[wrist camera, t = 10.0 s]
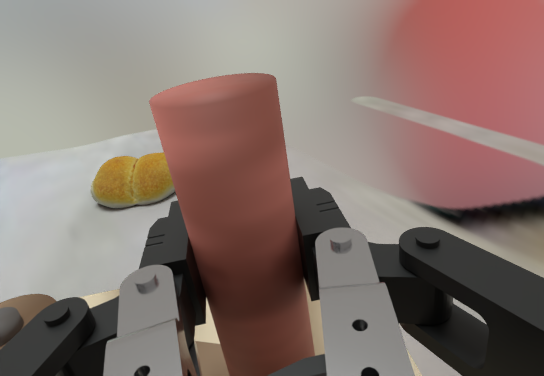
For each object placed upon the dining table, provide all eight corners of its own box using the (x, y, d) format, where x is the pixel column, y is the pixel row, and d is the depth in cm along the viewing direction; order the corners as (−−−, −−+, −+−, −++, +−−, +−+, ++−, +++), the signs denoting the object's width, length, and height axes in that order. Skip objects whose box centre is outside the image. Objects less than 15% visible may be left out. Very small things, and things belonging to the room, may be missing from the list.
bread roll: (182, 202, 37) (171, 164, 35) (89, 217, 37) (73, 180, 35) (192, 167, 44) (184, 134, 42) (115, 180, 44) (102, 147, 42)
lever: (-71, 403, 17) (-285, 151, 12) (21, 318, 21) (-107, 104, 16) (309, 492, 12) (235, 118, 7) (331, 357, 16) (297, 61, 11)
